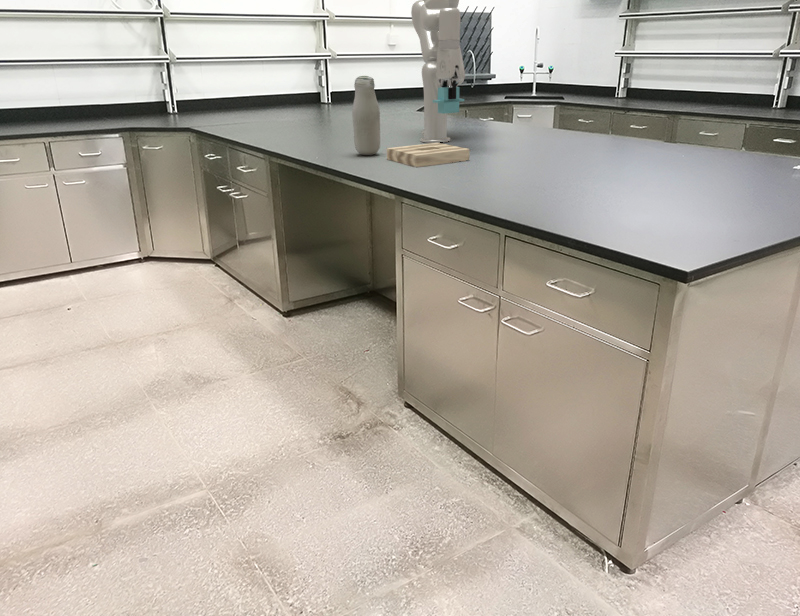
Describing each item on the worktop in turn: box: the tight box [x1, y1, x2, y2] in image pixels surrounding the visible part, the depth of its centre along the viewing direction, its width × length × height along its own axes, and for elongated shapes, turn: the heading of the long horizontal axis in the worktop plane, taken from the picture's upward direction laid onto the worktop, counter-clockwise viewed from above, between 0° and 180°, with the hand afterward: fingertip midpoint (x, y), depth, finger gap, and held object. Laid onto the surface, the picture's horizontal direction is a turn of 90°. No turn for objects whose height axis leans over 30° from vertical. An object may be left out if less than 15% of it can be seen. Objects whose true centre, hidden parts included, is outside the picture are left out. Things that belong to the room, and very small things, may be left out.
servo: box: [433, 86, 465, 114], centre depth 235 cm, size 4×12×10 cm, turn 121°
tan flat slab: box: [386, 143, 471, 168], centre depth 223 cm, size 20×22×4 cm
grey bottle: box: [351, 75, 381, 156], centre depth 231 cm, size 10×10×28 cm
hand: (448, 98), depth 234 cm, fingers closed on servo, 4 cm apart
